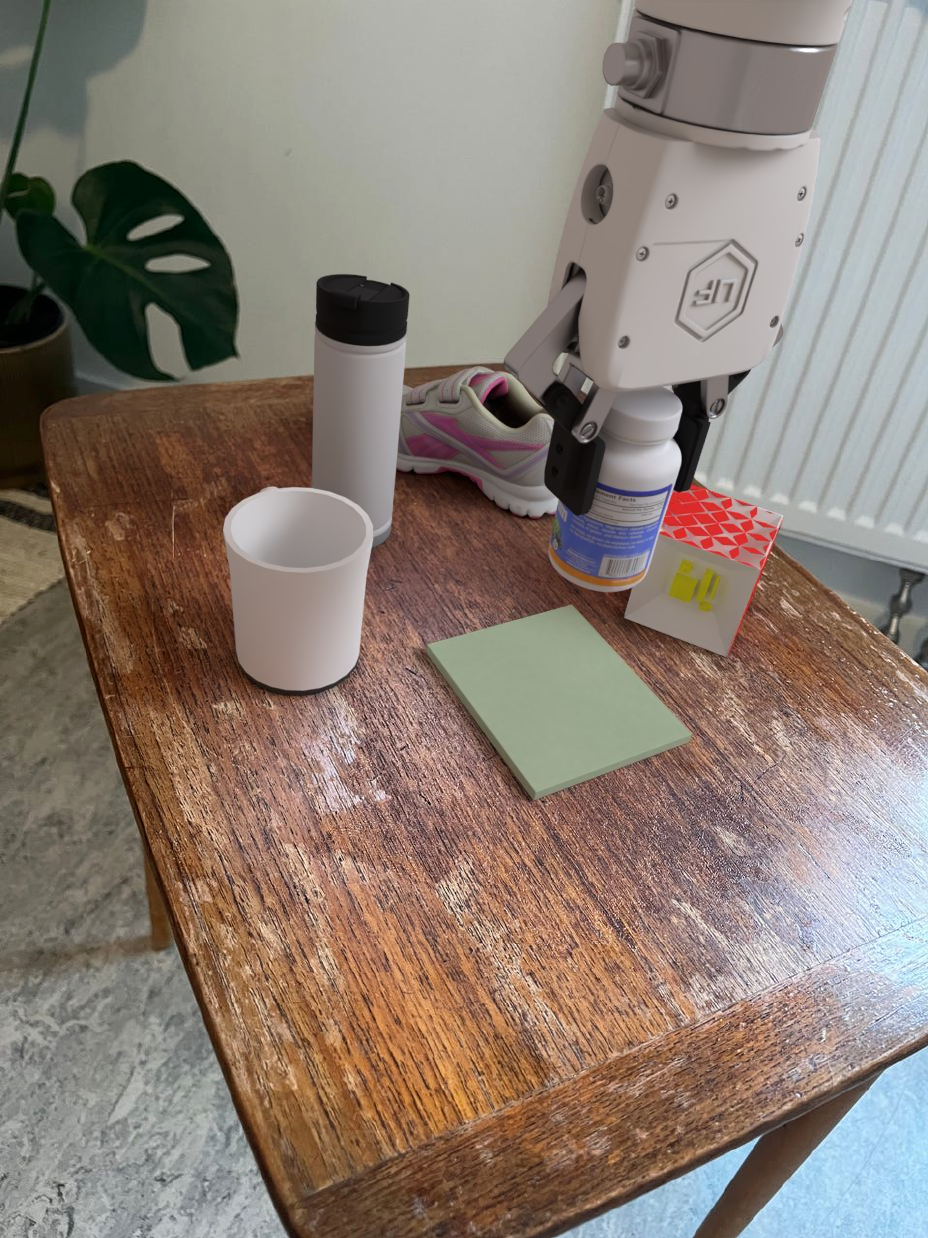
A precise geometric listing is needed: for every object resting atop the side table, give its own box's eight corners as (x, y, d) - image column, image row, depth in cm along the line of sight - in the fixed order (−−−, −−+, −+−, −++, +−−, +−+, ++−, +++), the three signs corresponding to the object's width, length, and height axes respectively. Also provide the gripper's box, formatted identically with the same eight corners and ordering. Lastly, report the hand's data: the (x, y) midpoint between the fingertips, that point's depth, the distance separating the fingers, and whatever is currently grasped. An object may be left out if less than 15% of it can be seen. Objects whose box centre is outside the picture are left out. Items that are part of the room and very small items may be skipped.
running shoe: (374, 407, 92) (381, 307, 85) (592, 483, 85) (616, 381, 79) (323, 446, 85) (325, 341, 79) (554, 531, 79) (577, 425, 73)
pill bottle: (563, 523, 53) (598, 359, 47) (657, 552, 52) (706, 388, 46) (533, 575, 49) (567, 404, 43) (634, 608, 48) (685, 437, 42)
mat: (689, 742, 62) (692, 734, 62) (533, 801, 57) (535, 792, 56) (569, 612, 71) (571, 604, 71) (425, 652, 66) (426, 644, 65)
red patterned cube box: (623, 617, 71) (648, 530, 66) (654, 564, 77) (680, 480, 72) (727, 658, 69) (762, 570, 64) (751, 600, 75) (785, 515, 70)
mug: (386, 681, 63) (397, 555, 57) (254, 716, 59) (249, 585, 53) (326, 584, 70) (329, 461, 64) (205, 609, 67) (195, 482, 60)
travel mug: (295, 540, 74) (296, 284, 61) (331, 499, 79) (339, 253, 66) (370, 563, 73) (388, 307, 60) (402, 519, 78) (424, 274, 65)
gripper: (592, 108, 30) (508, 568, 42) (947, 107, 38) (793, 497, 49) (475, 53, 35) (429, 479, 46) (811, 61, 42) (699, 427, 54)
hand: (617, 485), depth 48 cm, fingers closed on pill bottle, 5 cm apart
